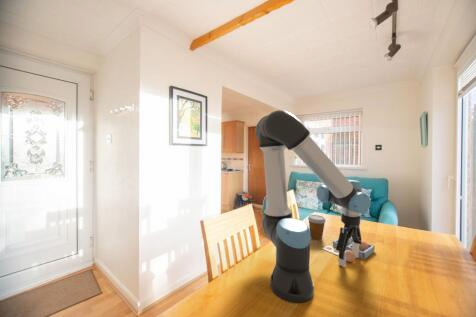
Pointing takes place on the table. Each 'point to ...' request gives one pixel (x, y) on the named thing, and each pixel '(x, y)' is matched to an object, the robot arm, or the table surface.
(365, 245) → the terracotta ball
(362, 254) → the rack
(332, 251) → the tile
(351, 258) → the terracotta ball
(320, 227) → the disposable coffee cup
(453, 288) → the table surface
